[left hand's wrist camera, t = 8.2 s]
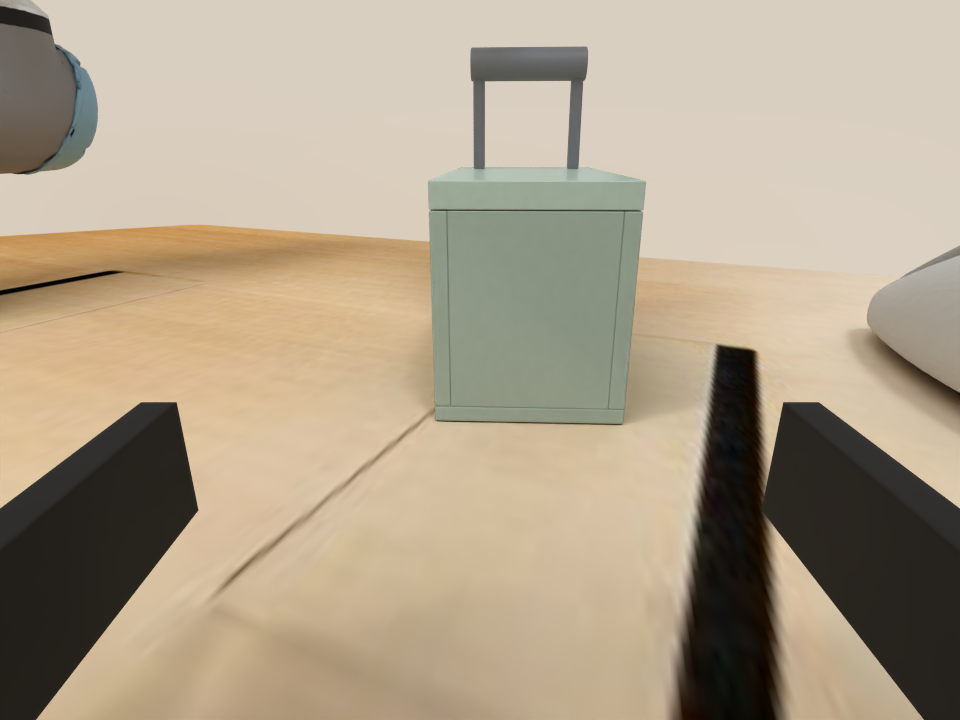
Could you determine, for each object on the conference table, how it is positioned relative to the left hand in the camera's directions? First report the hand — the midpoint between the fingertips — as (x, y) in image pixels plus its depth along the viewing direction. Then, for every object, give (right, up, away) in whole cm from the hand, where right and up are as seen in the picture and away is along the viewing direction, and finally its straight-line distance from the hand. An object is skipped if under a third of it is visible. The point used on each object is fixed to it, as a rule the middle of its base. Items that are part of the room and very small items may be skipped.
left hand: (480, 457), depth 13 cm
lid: (+3, +12, +21) cm, 24 cm away
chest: (+3, +2, +24) cm, 24 cm away
